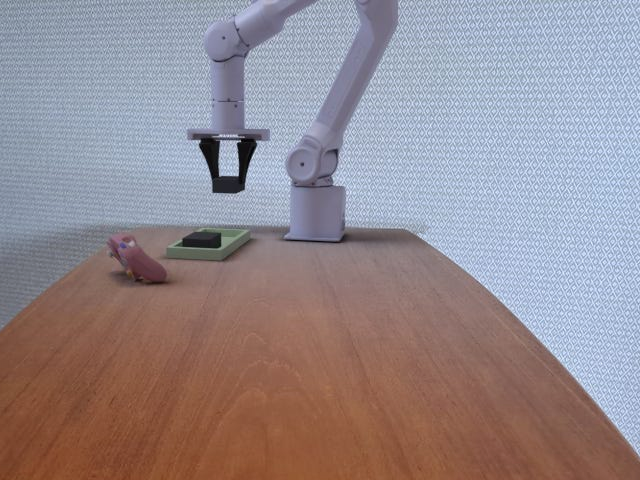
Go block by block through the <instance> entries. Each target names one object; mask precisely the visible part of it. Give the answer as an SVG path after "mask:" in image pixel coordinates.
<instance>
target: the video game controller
mask: <svg viewBox="0 0 640 480" xmlns="http://www.w3.org/2000/svg"><path fill="white" fill-rule="evenodd" d="M106 243H107V246H108V249H109V250H106V253H107V256H108V257H109V258H111V259H113V258H115V259H116V260H117V262H119V264H120V265H121V267H122V269H124V271H125V272H126V275H127V276H129V277H131V278H132V279H133V280H134V281H136V280H138V279H140V278H141V277H142V278H144V279H146V280H148V281H150V282H154V283H163V282H164V281H166V278H167V270H166V269H165V267H164V266H163V265H162V264H161V263H160V262H158V261H157V260H155V259H153V258H152V257H150V256H149V255H148V254H147V253H146V252H145V251H144V250H143V248H142V247H141V246H140V245H139V243H137V240H136V238H135V237H134V236H133V235H131V234H129V233H124V232H122V233H121V232H120V233H115V234H114V235H112V236H110V237H109V239H108V240H107V241H106Z"/></svg>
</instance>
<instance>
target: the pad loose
mask: <svg viewBox="0 0 640 480" xmlns="http://www.w3.org/2000/svg"><path fill="white" fill-rule="evenodd" d="M238 177H239V175H219V177H217V178H214V179H211V193H212V194H230V195H231V194H232V195H236V194H239V193H241V192H243V191H245V190H246V183H245V184H239V179H238Z"/></svg>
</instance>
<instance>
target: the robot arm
mask: <svg viewBox="0 0 640 480" xmlns="http://www.w3.org/2000/svg"><path fill="white" fill-rule="evenodd" d="M319 1H320V0H251V1H250V2H251V5H249V6H248V7H246V8H245V9H243V10H241V11H240V12H238V13H237V14H234V13H231V14H230V15H229V16H228V17H227V19H228V20H227V21H226V22H225V21H221V20H218V21H214V22H213V23H212V24H211V25H210V26H209V27H208V28H207V29H206V31H205V33H204V35H203V49H204V51H205V53H206V55H207V56H208V57H209V62H210V63H209V64H210V65H209V67H210V69H209V70H210V71H209V72H210V74H209V75H210V108H211V109H210V111H211V128H210V127H209V128H187V129H186V139H187V141H199V143H198V148H199V150H200V152H201V153H202V156H203V157H204V160H205V162H206V164H207V168H208V171H209V174H210V180H212V179H214V178H217V177H220V148H221V141H233V142H235V141H236V147H237V148H236V149H237V150H236V151H237V157H238V176H239V177H238V179H239V184H245V185H246V183H247V175H248V171H249V168H250V163H251V161H252V159H253V156H254V154H255V151H256V149H257V147H258V142H259V141H260V142H270V141H271V128H246V127H245V125H246V124H245V123H246V122H245V121H246V119H245V117H246V115H245V62H246V59H247V58H248V56H249V53H250V51H252V50H254V49H255V48H257V47H259V46H260V45H263V44H264V43H266V41H269V40H270V39H271V38H273V37H275V36H277V35H278V34H280V33H281V32H283V30H284V27H285V24H286V21H287V19H289V18H291V17H292V16H294V15H296V14H297V13H299V12H301V11H303V10H305V9H306V8H308V7H310V6H312V5H314V4H315V3H317V2H319ZM353 3H354V5H355V8H356V10H357V11H356V12H357V14H358V18H359V21H360V24H359V27H358V29H357V31H356V33H355V35H354V37H353V39H352V42H351V44H350V46H349V48H348V50H347V52H346V54H345V56H344V59H343V60H342V63H341V65H340V67H339V68H338V71H337V73H336V75H335V78H334V79H333V81H332V84H331V85H330V88H329V90H328V91H327V94H326V96H325V98H324V100H323V103H322V105H321V106H320V109H319V110H318V112H317V115H316V117H315V120H314V121H313V123H312V124H310V126H309V127H308V128H307V129H306V130H305V131H304V133H303V134H302V136H301V138H300V140H299V142H298V143H296V145H294V146H293V147H292V148H291V149H289V151H288V152H287V155H286V157H285V163H284V165H285V166H284V167H285V171H286V174H287V175H288V177H289V178H290V179H291V180H290V196H289V197H290V201H289V231H288V232H287V233H286V234H285V235H284V236H283V239H284V240H292V241H293V240H294V241H317V242H335V243H336V242H337V243H338V242H340V241H341V240H342V238H343V236H344V235H345V230H346V205H347V204H346V203H347V202H346V201H347V188H346V186H345V185H334V182H335V181H334V178H333V175H334V174H335V173H336V172H337V170H338V167H339V161H340V160H339V159H340V152H341V149H342V148H343V145H344V134H345V132H346V130H347V129H348V125H349V123H350V122H351V120H352V118H353V116H354V114H355V112H356V110H357V108H358V106H359V104H360V102H361V100H362V98H363V96H364V94H365V92H366V90H367V88H368V86H369V85H370V82H371V80H372V79H373V76H374V74H375V73H376V70H377V68H378V66H379V64H380V62H381V60H382V58H383V56H384V55H385V52H386V51H387V48H388V46H389V44H390V42H391V40H392V38H393V37H394V34H395V33H396V31H397V27H398V25H399V0H353ZM220 135H222V136H220ZM223 135H227V137H226V136H225V137H224V136H223ZM229 135H232V136H233V135H237V137H235V136H233V137H231V136H230V137H229Z"/></svg>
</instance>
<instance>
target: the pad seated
mask: <svg viewBox="0 0 640 480" xmlns="http://www.w3.org/2000/svg"><path fill="white" fill-rule="evenodd" d="M181 239H182V247H191V248H212V249H218V248H220V247H221V246H222V244H221V233H217V232H195V231H193V232H192V233H189V234H187V235H186V236H184V237H182V238H181Z"/></svg>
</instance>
